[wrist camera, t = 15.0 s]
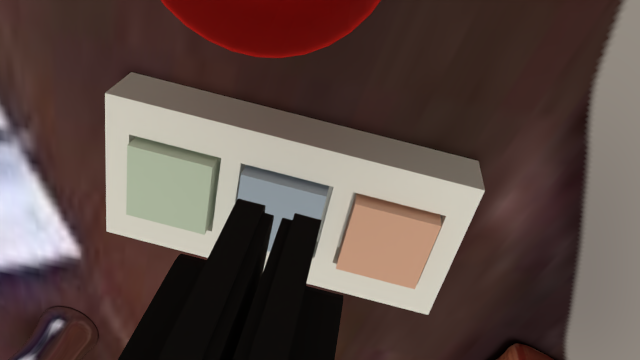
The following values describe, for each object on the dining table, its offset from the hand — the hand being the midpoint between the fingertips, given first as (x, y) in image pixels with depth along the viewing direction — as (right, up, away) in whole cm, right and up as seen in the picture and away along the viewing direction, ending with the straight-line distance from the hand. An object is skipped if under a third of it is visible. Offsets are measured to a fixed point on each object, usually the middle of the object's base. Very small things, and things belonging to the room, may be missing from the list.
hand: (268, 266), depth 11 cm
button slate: (-2, 0, +29) cm, 30 cm away
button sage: (-9, +2, +29) cm, 31 cm away
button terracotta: (+6, -2, +29) cm, 30 cm away
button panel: (-1, +1, +31) cm, 32 cm away
